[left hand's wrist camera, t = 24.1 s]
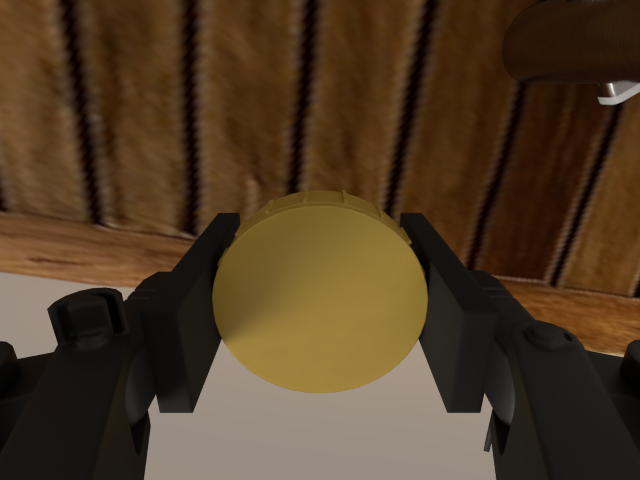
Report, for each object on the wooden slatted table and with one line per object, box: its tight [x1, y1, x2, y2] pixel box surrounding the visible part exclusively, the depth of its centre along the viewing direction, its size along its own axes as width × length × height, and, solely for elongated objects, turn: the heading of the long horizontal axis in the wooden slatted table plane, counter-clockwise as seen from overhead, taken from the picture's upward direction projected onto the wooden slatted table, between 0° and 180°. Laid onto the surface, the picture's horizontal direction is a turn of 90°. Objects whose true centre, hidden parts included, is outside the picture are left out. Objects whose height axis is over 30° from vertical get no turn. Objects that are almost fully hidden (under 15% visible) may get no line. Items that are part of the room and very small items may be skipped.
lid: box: [212, 189, 428, 393], centre depth 11 cm, size 6×6×2 cm
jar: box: [502, 0, 640, 84], centre depth 22 cm, size 5×5×15 cm
